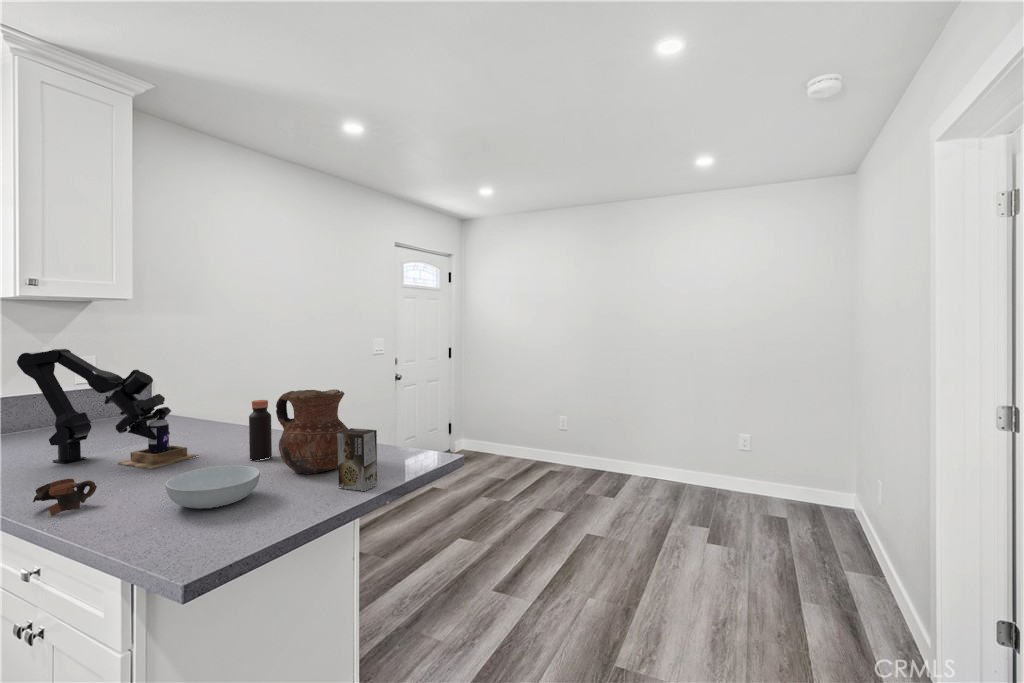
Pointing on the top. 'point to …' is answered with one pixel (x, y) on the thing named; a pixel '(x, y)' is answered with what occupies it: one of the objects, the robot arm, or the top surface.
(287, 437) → the jug
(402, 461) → the top surface
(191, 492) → the serving bowl
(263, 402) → the bottle
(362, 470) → the coffee box
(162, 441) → the beverage can
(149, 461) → the socket board
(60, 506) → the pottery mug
